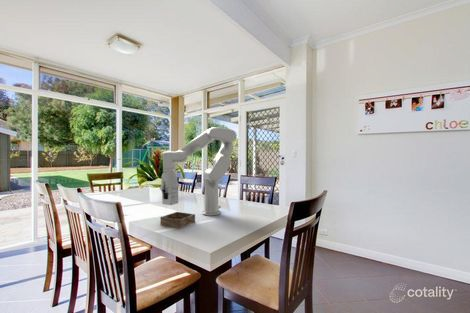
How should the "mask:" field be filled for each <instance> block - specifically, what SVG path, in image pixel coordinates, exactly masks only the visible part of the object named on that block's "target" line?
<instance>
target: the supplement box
mask: <svg viewBox="0 0 470 313" xmlns="http://www.w3.org/2000/svg"><path fill="white" fill-rule="evenodd" d="M164 187H165V186H164ZM165 188H166V187H165ZM163 189H164V188H163ZM165 190H166V189H165ZM167 193H168V199H164V198H163V193H162V192H161V197H162V198H161V200H162V205H164V206H165V205H166V206H173V205H177V204H179V186H178V184H173V185H168V189H167Z"/></svg>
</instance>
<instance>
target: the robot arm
mask: <svg viewBox="0 0 470 313" xmlns="http://www.w3.org/2000/svg"><path fill="white" fill-rule="evenodd" d="M215 140H216V141H221V146H220V149H219V151H218V152H217V154H216V155H215V157H214V158H213V159H212V160H213V161H212V165H213V166H212V167H209V168H207V169H205V171H204V172H203V182H204V210H203V211H202V212H201V213H202V215H203V216H211V217H212V216H218V215H220V214H221V210H219V209H221V208H222V206H221V205H219V183H220V182H221V181H222V180H223V179H224V176H225V175H226V173H227V172H228V170H229V168H230V166H231V163H232V162H231V161H232V160H231V158H230V157H231V155H232V153H233V151H234V143H233V142H235V141H236V140H237V132H236V131H235V130H234V129H230V128H223V127H217V126H212V127H210V128H207V129H206V130H204V131H203V132H202V133H201V134H199V135H198V136H197V137H194V139H192V140H191V141H190V142H189V143H187V144H185V145H184V146H183V147H181V148H179V149H178V150H177V151H173V150H172V151H163V152H162V172H163V173H162V174H161V179H160V180H161V184H160V186H159V189H160V191H161V194H162V193H163V198H164V199H168V193H167V189H168V185H173V184H178V187H179V186H180V183H179V182H178V176H177V172H176V170H177V169H176V163H184V162H186V161H187V160H188V157H190V156H191V155H193V154H195V153H196V152H200V151H201V150H203V149H204V148H206V147H207V146H208V145H210V144H211V143H212V142H214V141H215ZM164 186H165V187H166V188H165V187H164ZM163 188H164V189H163ZM165 189H166V190H165Z"/></svg>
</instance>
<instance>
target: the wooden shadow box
mask: <svg viewBox="0 0 470 313" xmlns="http://www.w3.org/2000/svg"><path fill="white" fill-rule="evenodd" d="M159 222H160V226H165V227H168V228H174V229H181V228H183V227H186V226H189V225H191V224H193V223H195V222H196V214H194V213H188V212H182V211H175V212H173V213H170V214H166V215H162V216H160V221H159Z"/></svg>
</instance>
